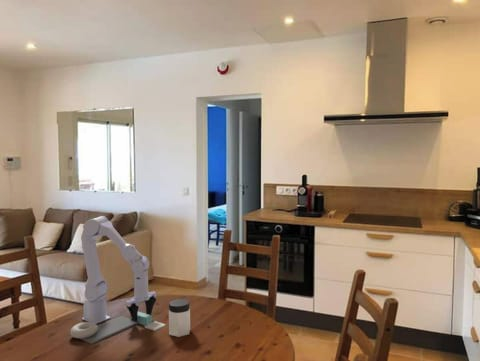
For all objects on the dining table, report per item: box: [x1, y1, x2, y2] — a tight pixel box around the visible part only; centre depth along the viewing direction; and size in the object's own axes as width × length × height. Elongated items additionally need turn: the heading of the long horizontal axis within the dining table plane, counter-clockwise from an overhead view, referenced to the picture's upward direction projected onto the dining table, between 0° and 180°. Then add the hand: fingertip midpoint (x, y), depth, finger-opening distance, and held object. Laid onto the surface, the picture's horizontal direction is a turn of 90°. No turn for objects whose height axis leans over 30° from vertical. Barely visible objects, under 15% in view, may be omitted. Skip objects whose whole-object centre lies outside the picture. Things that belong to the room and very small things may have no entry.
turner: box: [129, 311, 167, 332], centre depth 164 cm, size 16×6×4 cm, turn 57°
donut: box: [69, 321, 98, 339], centre depth 153 cm, size 10×4×10 cm
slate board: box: [78, 315, 138, 345], centre depth 159 cm, size 11×22×1 cm, turn 145°
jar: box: [168, 298, 191, 338], centre depth 156 cm, size 9×8×12 cm
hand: (141, 317), depth 166 cm, fingers open, 7 cm apart
